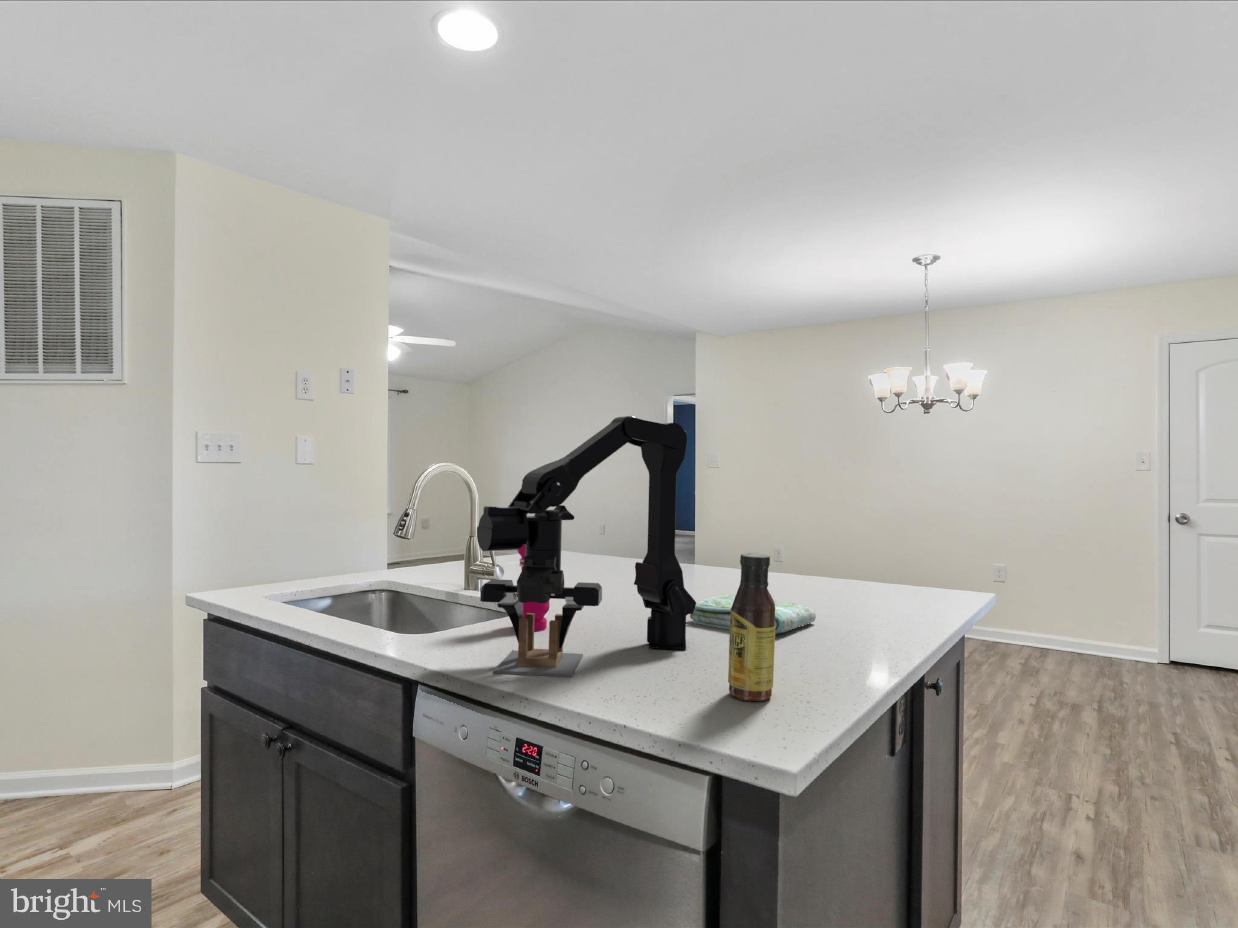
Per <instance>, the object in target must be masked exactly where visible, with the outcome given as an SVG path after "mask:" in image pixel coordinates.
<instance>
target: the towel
mask: <svg viewBox="0 0 1238 928" xmlns="http://www.w3.org/2000/svg"><path fill="white" fill-rule="evenodd" d="M735 596H736V594H735V595H734V594H720V595H718V596H712V597H708V598H706V599H703V600H702V601H699V602H696V606H695V609H694V612H693V614H689V619H690V620H693V621H692V622H693V624H695V623H697V624H696V625H700V624H702V625H701V626H705V625H706V626H705V627H711V626H712V627H711V628H716V627H719V628H718V629H722V628H724V630H728V629H730V614H731V607H732V605H733V602H734V599H735ZM773 601H774V603H775V635H779V634H782V633H787V632H789V630H790V631H792V629H793V630H795V629H798V628H797V627H799V626H802V625H805V624H808V623H811V622H812V623H814V622H815V621H816V618H817V615H816V613H815V611H813V610H812V609H811V608H809V607H807V606H805V605H802V604H799V603H794V602H790V601H777V600H773ZM812 623H811V624H812ZM805 626H806V625H805ZM802 627H803V626H802ZM799 628H800V627H799ZM786 631H787V632H786Z"/></svg>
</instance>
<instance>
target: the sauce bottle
mask: <svg viewBox="0 0 1238 928" xmlns="http://www.w3.org/2000/svg"><path fill="white" fill-rule="evenodd" d="M739 559H740V560H739V563H740V567H741V568H740V581H739V586H738V588H737V591H736V594H735V599H734V602H733V605H732V607H731V614H730V630H729V636H728V637H729V640H728V641H729V646H728V673H727V675H728V676H727V677H728V678H727V682H728V684H729V686H728V691H729V694H730V695H731V696H732V697H734V698H737V699H738V700H741V701H747V702H761V701H762V702H763V701H767V700H770V699H771V697H772V695H773V691H772V690H773V687H774V674H775V673H774V672H775V667H774V666H775V645H776V644H775V643H776V634H775V603H774V601H775V600H774V598H773V596H772V594H771V593H770V591H769V589H768V586H769V567H770V565H771V556H770V555H768V554H766V553H759V552H757V553H756V552H744V553H742V554H740V557H739Z"/></svg>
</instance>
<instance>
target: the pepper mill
mask: <svg viewBox="0 0 1238 928" xmlns="http://www.w3.org/2000/svg"><path fill="white" fill-rule="evenodd" d="M517 553H518V555H520V558H519V564H518V565H519V567H521V570H522V569H523V566H524V557H525V544H523V546H522V547H521V548H520V549H518V550H517ZM549 610H550V601H549V602H547V603H543V604H541V603H538V602H526V603H523V619H526V614H527V613H535V619H534V632H540V630H541V631H543V630H546V629H547V627H548V626H547V625H548V619H547V618H546V617H545V615H546V614H547V613H548V612H549Z"/></svg>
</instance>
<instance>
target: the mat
mask: <svg viewBox="0 0 1238 928" xmlns="http://www.w3.org/2000/svg"><path fill="white" fill-rule="evenodd" d="M583 657H584V654H583V653H575V652H572V653H571V652H570V653H569V652H563V657H562V659H561V660H560V662H559V663H558V665H557V667H537V666H518V650H512V651H510V653H509V654H508V655H506V657H504V658H503V660H502V661H501V662H500V663H499V664H498V665H497V666H496V667H495V668H494V669H493V674H506V675H507V674H508V675H509V674H510V675H524V676H525V675H527V676H544V677H545V676H547V677H565V678H572V677H573V676H574V673H575V671H576V670H577V668H578V666H579V664H580V662H581V661H582V659H583Z"/></svg>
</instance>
